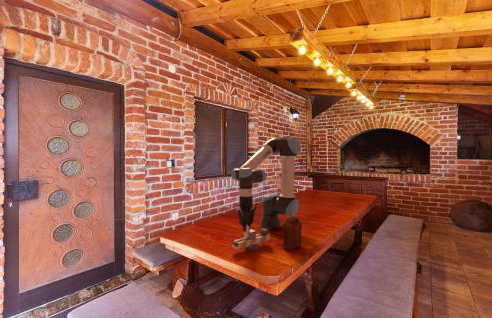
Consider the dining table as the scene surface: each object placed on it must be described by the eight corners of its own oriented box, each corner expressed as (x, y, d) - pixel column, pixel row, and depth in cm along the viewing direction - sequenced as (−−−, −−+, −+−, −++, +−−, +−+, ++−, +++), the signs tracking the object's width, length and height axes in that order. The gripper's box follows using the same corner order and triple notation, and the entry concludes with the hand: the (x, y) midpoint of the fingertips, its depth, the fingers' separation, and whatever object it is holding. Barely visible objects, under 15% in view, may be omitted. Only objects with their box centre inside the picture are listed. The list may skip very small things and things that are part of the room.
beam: (237, 255, 136) (237, 238, 136) (231, 251, 141) (231, 235, 141) (270, 245, 149) (270, 230, 149) (264, 242, 154) (263, 227, 154)
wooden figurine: (295, 243, 152) (295, 213, 151) (302, 246, 147) (302, 216, 146) (280, 247, 146) (280, 216, 145) (287, 251, 141) (287, 219, 140)
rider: (250, 241, 142) (250, 232, 141) (245, 238, 146) (245, 230, 145) (255, 240, 144) (255, 231, 143) (250, 237, 148) (250, 228, 148)
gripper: (239, 198, 135) (240, 241, 136) (259, 195, 142) (259, 236, 144) (232, 195, 141) (233, 237, 143) (251, 193, 148) (252, 232, 150)
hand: (246, 236), depth 143 cm, fingers closed
